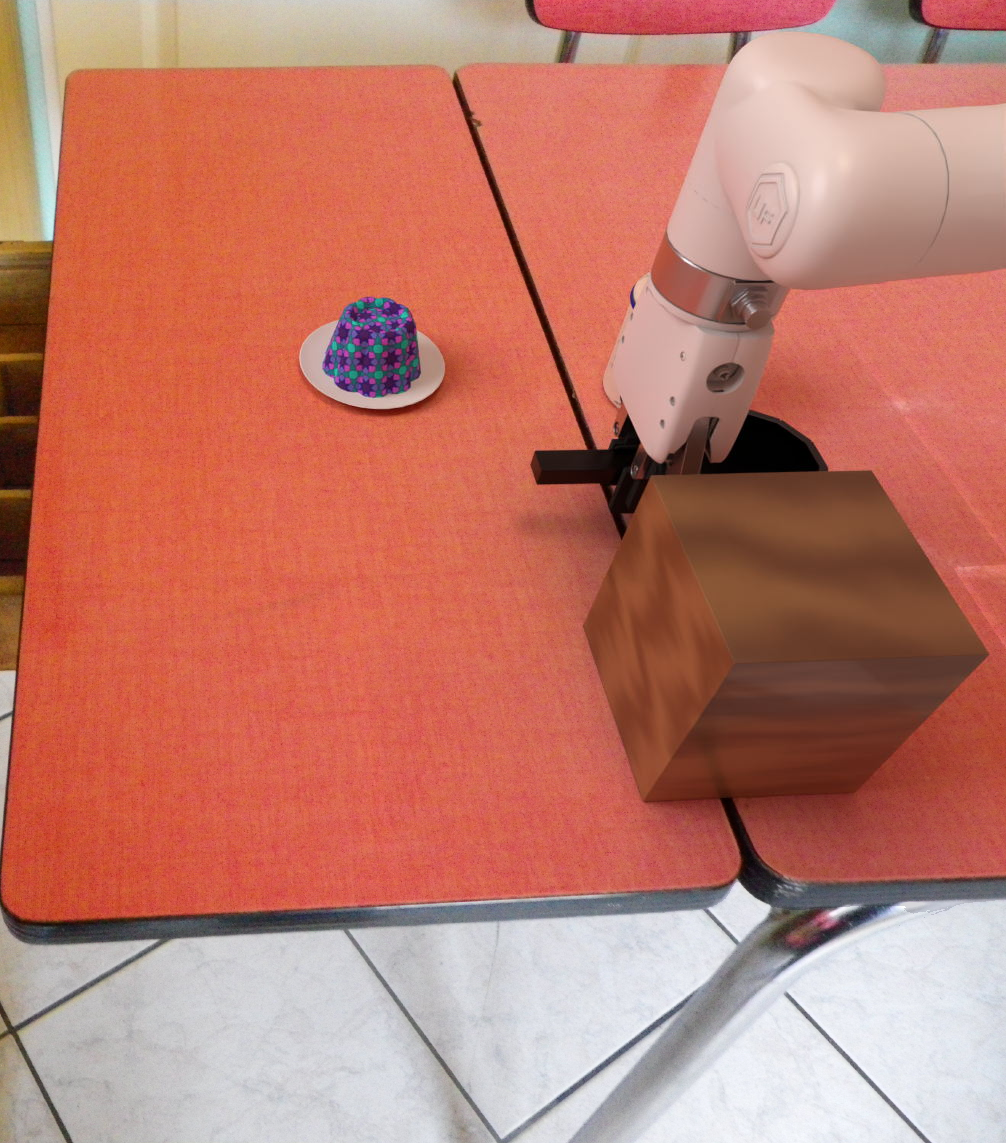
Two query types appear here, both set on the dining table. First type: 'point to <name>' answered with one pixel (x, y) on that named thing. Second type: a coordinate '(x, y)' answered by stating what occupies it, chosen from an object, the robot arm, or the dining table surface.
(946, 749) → the dining table surface
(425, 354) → the pudding
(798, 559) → the wooden cube
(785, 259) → the robot arm
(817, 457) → the pan
